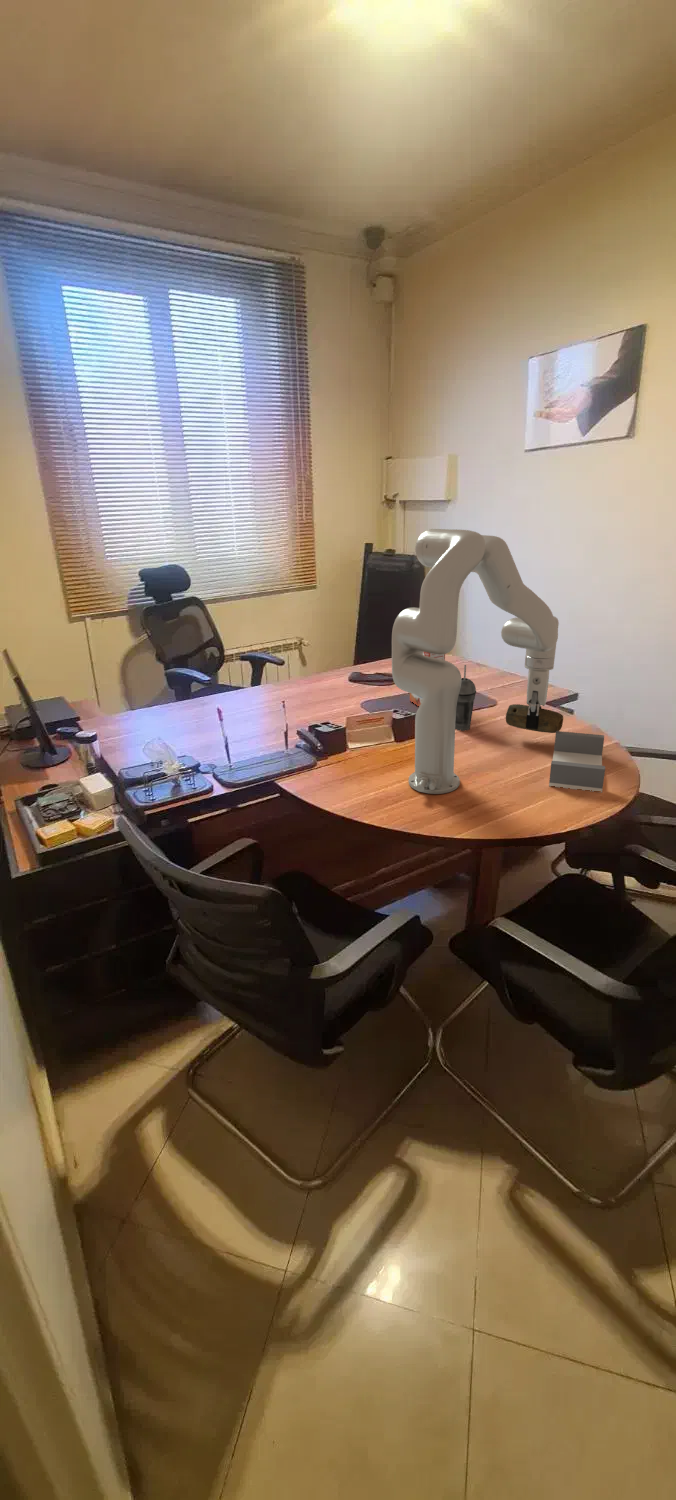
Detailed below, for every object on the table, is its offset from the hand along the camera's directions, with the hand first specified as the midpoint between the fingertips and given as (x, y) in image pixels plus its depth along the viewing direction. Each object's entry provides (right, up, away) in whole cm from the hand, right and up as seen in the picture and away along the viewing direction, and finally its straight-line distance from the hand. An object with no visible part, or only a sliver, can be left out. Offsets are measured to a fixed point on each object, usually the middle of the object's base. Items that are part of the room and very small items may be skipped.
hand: (532, 723), depth 176 cm
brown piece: (0, -2, +1) cm, 2 cm away
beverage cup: (-17, -1, +14) cm, 22 cm away
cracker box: (-25, +7, +33) cm, 42 cm away
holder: (+6, -13, -16) cm, 21 cm away
